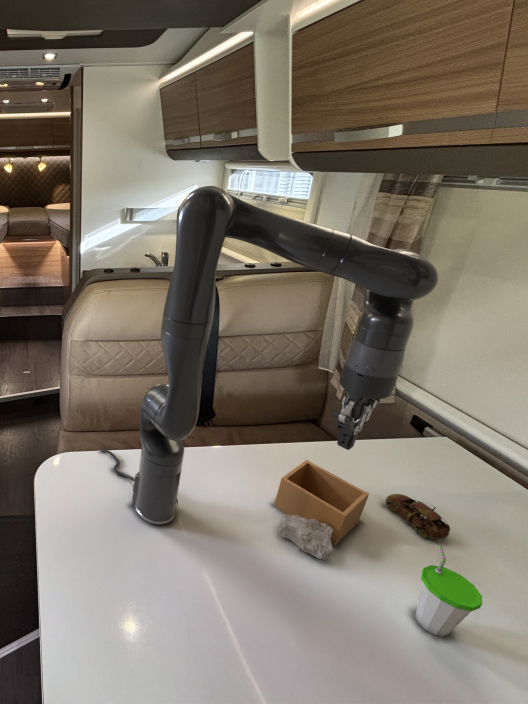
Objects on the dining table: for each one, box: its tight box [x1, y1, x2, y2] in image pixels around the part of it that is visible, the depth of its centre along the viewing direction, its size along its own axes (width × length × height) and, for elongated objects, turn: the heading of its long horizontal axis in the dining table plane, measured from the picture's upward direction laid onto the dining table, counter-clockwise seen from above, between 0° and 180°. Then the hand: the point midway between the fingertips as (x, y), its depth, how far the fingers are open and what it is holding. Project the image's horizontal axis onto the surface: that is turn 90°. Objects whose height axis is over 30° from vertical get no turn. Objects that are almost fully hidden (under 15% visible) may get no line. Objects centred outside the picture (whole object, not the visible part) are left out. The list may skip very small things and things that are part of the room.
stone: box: [278, 513, 334, 561], centre depth 93 cm, size 8×10×6 cm
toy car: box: [384, 493, 451, 540], centre depth 99 cm, size 12×7×5 cm, turn 10°
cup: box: [414, 545, 483, 638], centre depth 75 cm, size 8×8×15 cm
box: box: [273, 459, 370, 546], centre depth 100 cm, size 12×14×9 cm
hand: (344, 446), depth 80 cm, fingers closed
